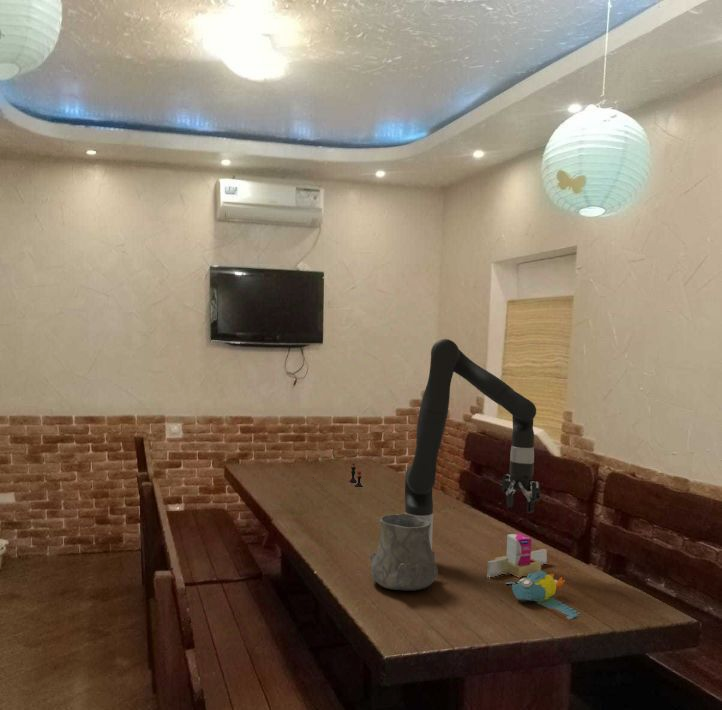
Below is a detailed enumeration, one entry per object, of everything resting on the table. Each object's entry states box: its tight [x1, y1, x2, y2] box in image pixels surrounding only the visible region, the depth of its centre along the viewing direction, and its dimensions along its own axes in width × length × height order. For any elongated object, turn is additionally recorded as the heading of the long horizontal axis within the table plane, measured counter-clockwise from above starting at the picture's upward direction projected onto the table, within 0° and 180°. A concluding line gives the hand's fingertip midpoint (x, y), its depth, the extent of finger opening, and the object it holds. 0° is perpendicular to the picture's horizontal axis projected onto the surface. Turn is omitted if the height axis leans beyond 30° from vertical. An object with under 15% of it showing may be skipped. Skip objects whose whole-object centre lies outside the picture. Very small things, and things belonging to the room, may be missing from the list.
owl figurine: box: [505, 570, 580, 620], centre depth 185 cm, size 28×9×15 cm
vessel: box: [370, 513, 439, 591], centre depth 194 cm, size 22×22×20 cm
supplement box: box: [506, 533, 532, 566], centre depth 209 cm, size 6×6×12 cm
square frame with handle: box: [486, 548, 548, 579], centre depth 209 cm, size 26×10×5 cm, turn 123°
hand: (519, 509), depth 209 cm, fingers open, 8 cm apart
